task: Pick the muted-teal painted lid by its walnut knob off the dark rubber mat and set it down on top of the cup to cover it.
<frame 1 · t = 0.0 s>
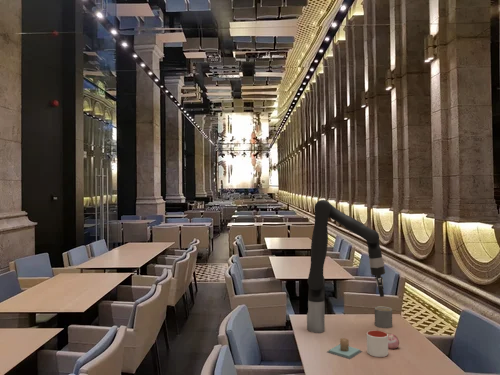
hand: (381, 294, 227), 22 cm above the table, tool pointing down, fingers open, 8 cm apart
coffee mug: (382, 324, 245), on the table
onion: (391, 348, 208), on the table
lid: (344, 351, 202), resting on mat
mat: (344, 352, 202), on the table
cup: (377, 354, 200), on the table
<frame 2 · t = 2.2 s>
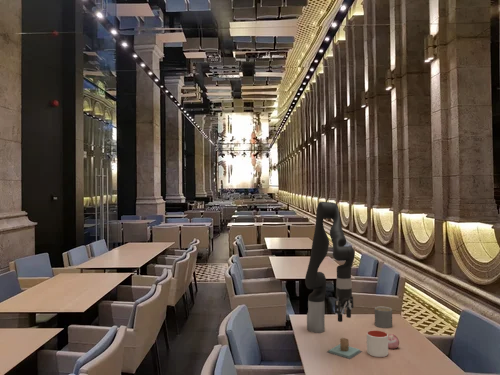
hand: (344, 319, 202), 16 cm above the table, tool pointing down, fingers open, 8 cm apart
nothing on the table moved.
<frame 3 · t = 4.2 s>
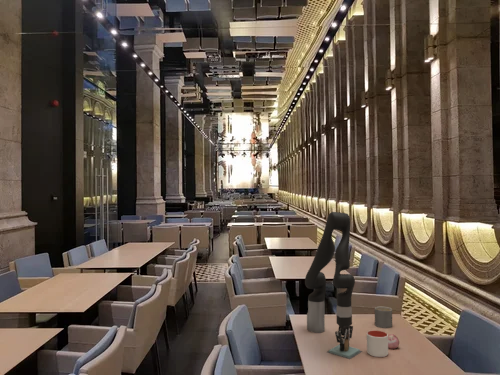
hand: (344, 349, 202), 2 cm above the table, tool pointing down, fingers closed on lid, 4 cm apart
lid: (344, 351, 202), resting on mat, touching gripper
everything else where it was.
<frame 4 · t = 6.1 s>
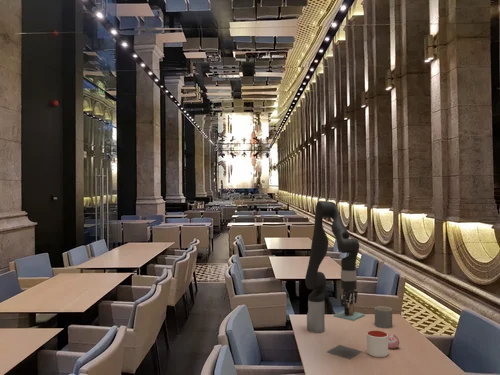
hand: (349, 313, 202), 19 cm above the table, tool pointing down, fingers closed on lid, 4 cm apart
lid: (349, 316, 202), point 18 cm above the table, touching gripper
everything else where it was.
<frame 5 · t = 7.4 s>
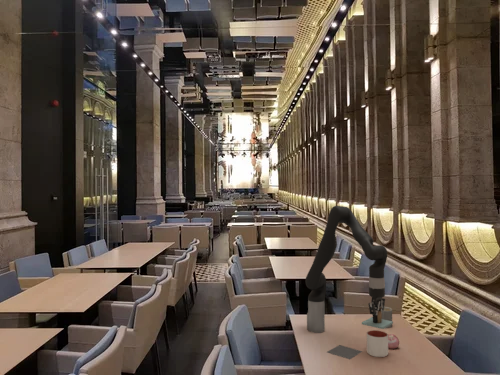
hand: (377, 321, 200), 16 cm above the table, tool pointing down, fingers closed on lid, 4 cm apart
lid: (377, 323, 200), point 15 cm above the table, touching gripper
everything else where it was.
when the fingers open (13 cm above the table, at t = 8.2 s): lid drops 2 cm, resting on cup.
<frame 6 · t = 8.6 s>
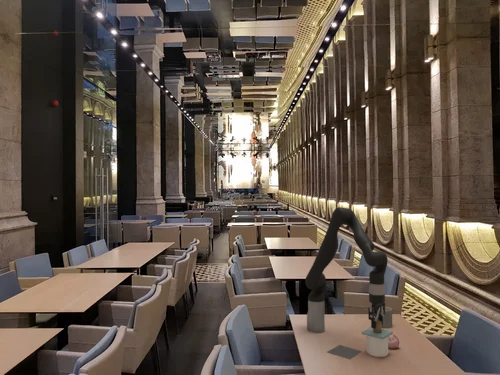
hand: (377, 326, 200), 14 cm above the table, tool pointing down, fingers open, 7 cm apart
lid: (377, 333, 200), point 10 cm above the table, touching cup
cup: (377, 354, 200), on the table, touching lid
everything else where it was.
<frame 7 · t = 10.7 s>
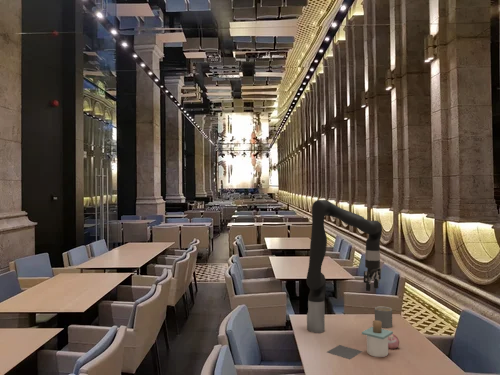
hand: (372, 289, 215), 28 cm above the table, tool pointing down, fingers open, 8 cm apart
nothing on the table moved.
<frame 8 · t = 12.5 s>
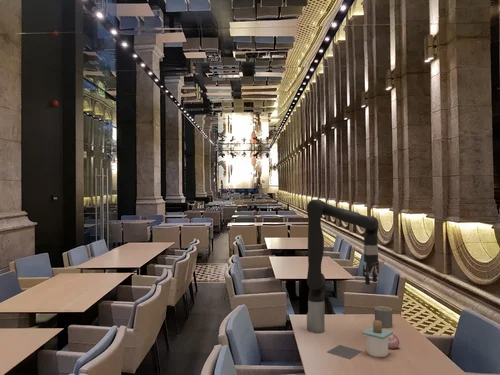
hand: (371, 283, 221), 30 cm above the table, tool pointing down, fingers open, 8 cm apart
nothing on the table moved.
at the end: lid 0.1 cm off-centre on the cup, point 10.2 cm above the cup's base; lid tilted 0°; the gripper is holding nothing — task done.
